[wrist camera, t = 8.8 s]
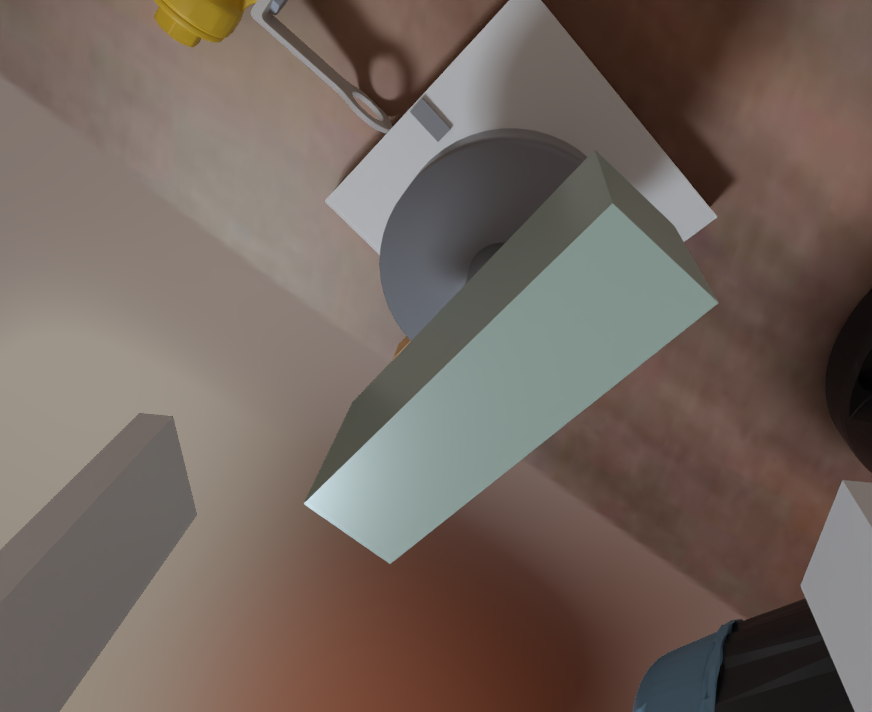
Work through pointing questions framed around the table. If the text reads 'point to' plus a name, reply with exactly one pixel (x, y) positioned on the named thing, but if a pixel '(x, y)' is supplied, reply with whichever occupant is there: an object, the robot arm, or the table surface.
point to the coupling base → (517, 121)
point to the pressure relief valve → (222, 10)
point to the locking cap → (500, 326)
